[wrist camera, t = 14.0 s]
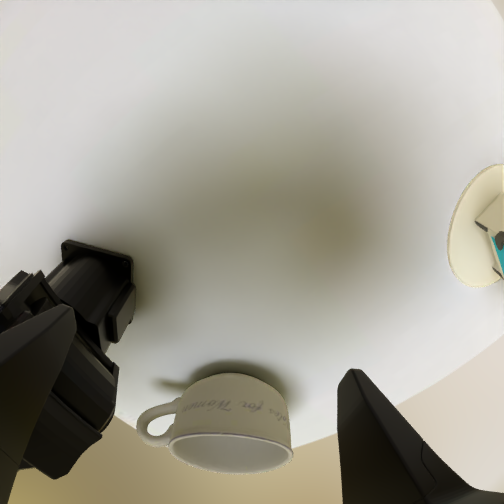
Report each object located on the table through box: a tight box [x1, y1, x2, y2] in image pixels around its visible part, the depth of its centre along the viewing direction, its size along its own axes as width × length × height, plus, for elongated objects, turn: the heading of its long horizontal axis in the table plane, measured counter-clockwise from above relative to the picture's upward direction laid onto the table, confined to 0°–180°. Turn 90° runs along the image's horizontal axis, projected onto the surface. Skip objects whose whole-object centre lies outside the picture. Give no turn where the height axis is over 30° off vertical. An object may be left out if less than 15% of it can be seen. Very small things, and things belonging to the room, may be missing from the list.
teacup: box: [136, 373, 293, 474], centre depth 24 cm, size 14×11×8 cm
